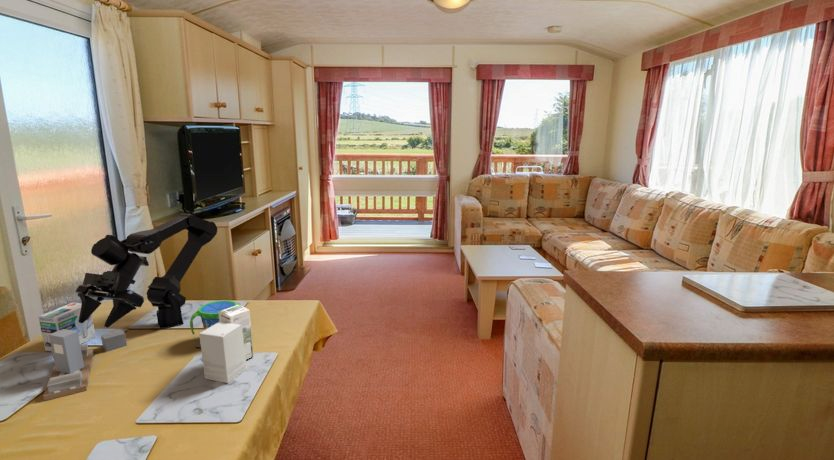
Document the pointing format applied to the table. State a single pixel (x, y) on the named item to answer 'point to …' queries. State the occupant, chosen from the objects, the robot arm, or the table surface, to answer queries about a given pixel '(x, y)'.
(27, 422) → the table surface
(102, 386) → the table surface
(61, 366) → the block
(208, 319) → the snack cup
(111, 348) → the block
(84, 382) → the rail board
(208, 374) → the supplement box
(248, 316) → the syrup box
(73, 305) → the light bulb box
